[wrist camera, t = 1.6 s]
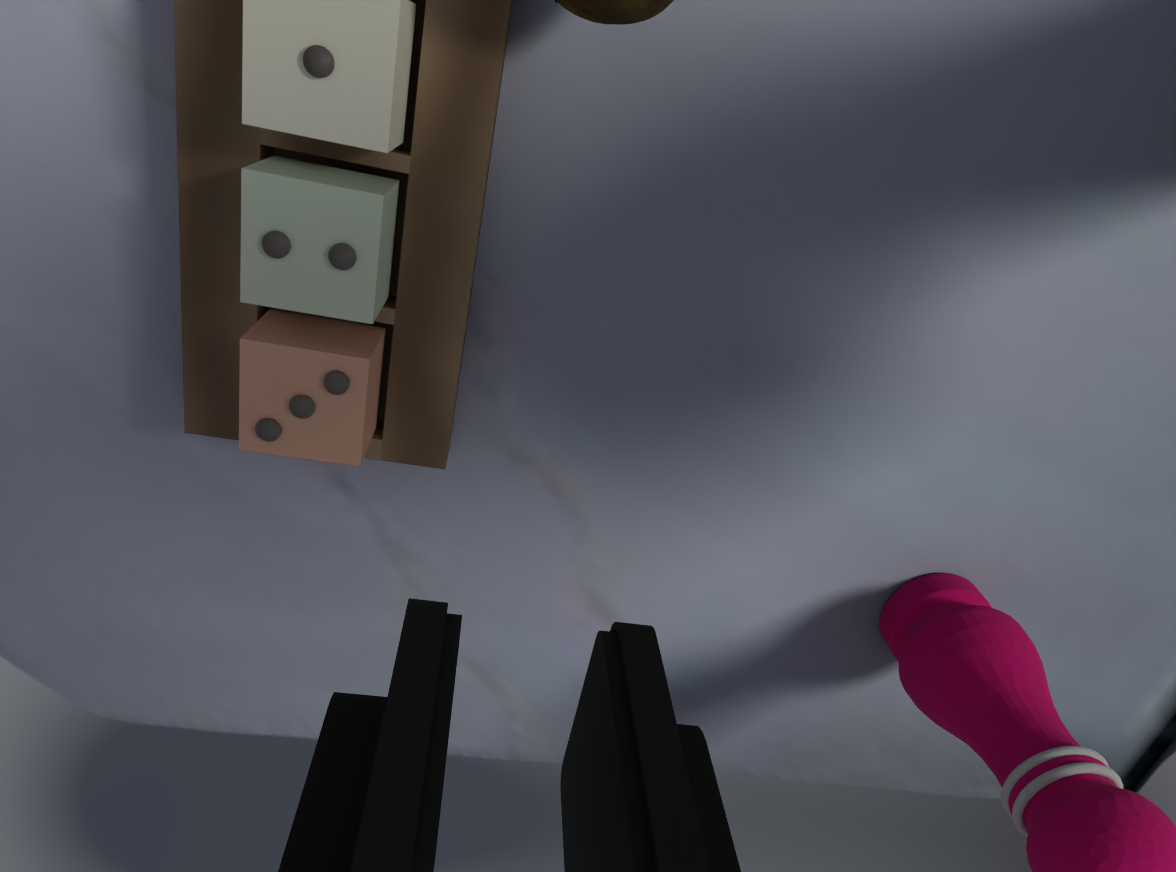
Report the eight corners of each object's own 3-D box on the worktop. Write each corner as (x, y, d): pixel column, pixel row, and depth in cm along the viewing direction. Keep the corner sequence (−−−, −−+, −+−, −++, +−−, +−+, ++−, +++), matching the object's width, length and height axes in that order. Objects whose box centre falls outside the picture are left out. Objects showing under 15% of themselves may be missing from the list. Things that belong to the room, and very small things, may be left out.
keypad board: (515, -15, 30) (514, -20, 28) (449, 448, 39) (445, 469, 37) (195, -93, 28) (171, -104, 26) (202, 412, 37) (184, 432, 35)
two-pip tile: (399, 180, 32) (382, 196, 28) (388, 296, 34) (371, 325, 30) (274, 155, 31) (239, 168, 27) (270, 275, 33) (238, 303, 29)
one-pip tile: (416, 4, 29) (400, -5, 25) (403, 142, 31) (386, 153, 27) (279, -28, 28) (241, -42, 24) (275, 116, 30) (239, 124, 26)
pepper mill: (943, 670, 49) (1186, 1023, 31) (848, 642, 47) (1047, 998, 29) (1010, 583, 46) (1320, 917, 28) (912, 550, 44) (1174, 883, 26)
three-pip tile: (385, 328, 34) (368, 361, 31) (376, 426, 36) (359, 469, 33) (270, 308, 33) (238, 340, 30) (267, 410, 36) (237, 452, 32)
